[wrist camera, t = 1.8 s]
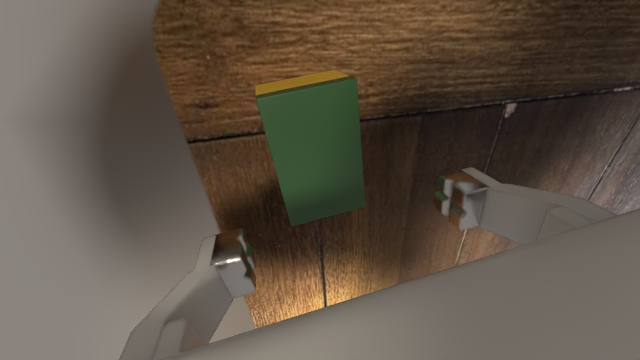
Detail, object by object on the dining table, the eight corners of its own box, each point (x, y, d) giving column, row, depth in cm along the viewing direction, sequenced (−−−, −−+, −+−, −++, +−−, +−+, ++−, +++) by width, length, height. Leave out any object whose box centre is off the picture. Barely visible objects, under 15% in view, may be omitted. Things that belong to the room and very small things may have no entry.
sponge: (255, 85, 15) (255, 98, 12) (334, 69, 16) (357, 78, 12) (284, 193, 19) (291, 227, 16) (346, 178, 20) (365, 206, 16)
